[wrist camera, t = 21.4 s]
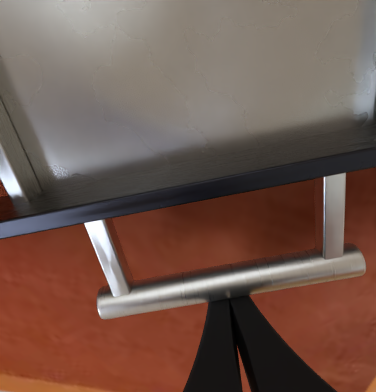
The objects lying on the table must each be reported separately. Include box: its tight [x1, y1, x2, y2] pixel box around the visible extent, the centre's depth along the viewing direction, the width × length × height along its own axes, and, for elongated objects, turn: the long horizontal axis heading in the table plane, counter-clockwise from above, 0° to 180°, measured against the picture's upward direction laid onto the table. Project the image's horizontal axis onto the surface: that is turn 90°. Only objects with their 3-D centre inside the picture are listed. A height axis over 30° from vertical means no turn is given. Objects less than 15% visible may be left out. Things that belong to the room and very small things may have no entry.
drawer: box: [0, 0, 376, 319], centre depth 7 cm, size 18×17×3 cm
